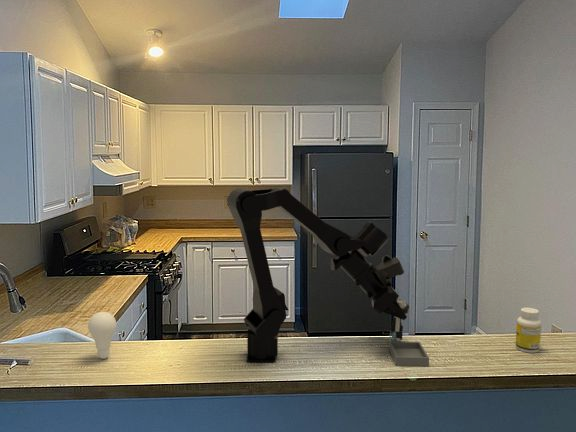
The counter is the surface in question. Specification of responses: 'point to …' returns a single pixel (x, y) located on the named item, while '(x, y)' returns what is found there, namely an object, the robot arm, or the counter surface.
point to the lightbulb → (102, 332)
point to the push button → (398, 323)
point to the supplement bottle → (528, 331)
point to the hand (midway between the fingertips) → (403, 314)
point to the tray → (408, 354)
